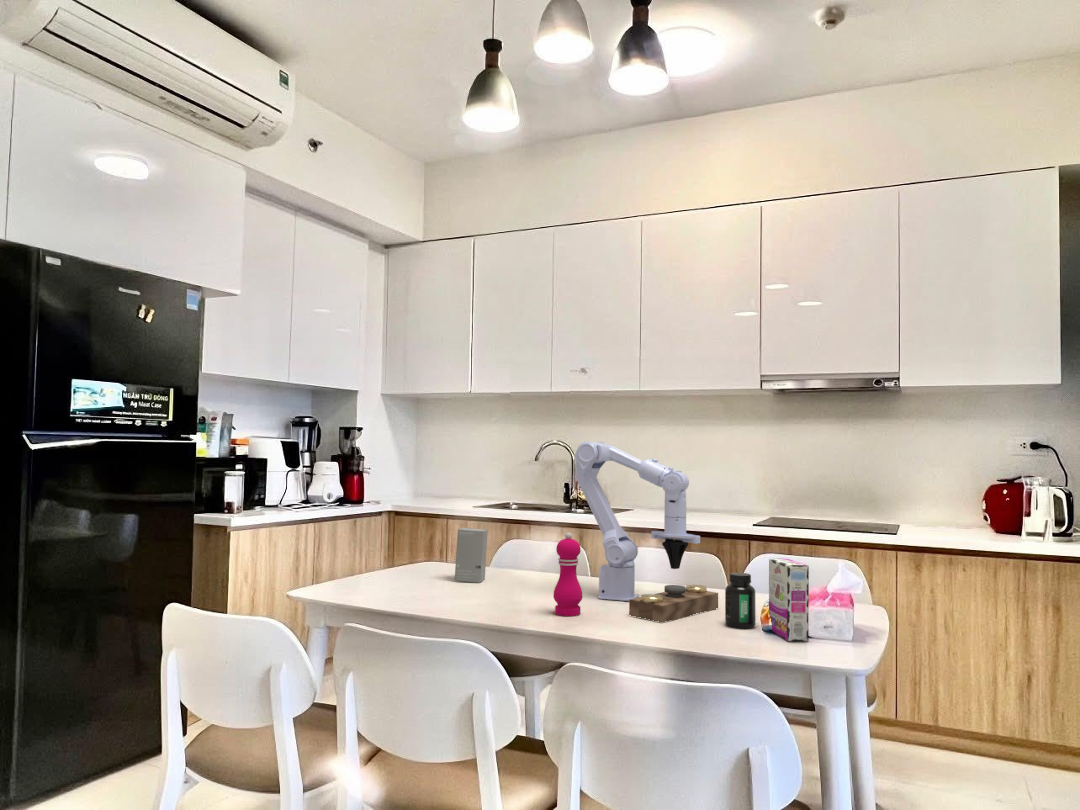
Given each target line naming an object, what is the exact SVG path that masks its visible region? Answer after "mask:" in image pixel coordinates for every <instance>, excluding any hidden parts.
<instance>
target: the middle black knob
mask: <svg viewBox="0 0 1080 810" xmlns="http://www.w3.org/2000/svg"><path fill="white" fill-rule="evenodd" d="M685 587H686V586H684V585H679V584H666V585H664V587H663V588H664V589H663V590H664V591H663V592H667V593H668V597H672V598H681V597H682V593H685Z"/></svg>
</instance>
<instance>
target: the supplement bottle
mask: <svg viewBox="0 0 1080 810" xmlns="http://www.w3.org/2000/svg"><path fill="white" fill-rule="evenodd" d="M728 580H729V582H730V583H729V584H728V585H726V587H725V589H724V591H725V592H724V593H725V594H724V599H725V600H724V605H725V607H724V610H725V611H724V616H725V617H724V620H725V622H724V623H725V625H726V626H727V627H728V628H732V629H737V630H750V629H754V628H755V627H756V617H757V616H756V589H755V587H754V586H753V585H751V583H752V575H751V574H750V573H748V572H730V573H729V579H728Z"/></svg>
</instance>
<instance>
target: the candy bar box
mask: <svg viewBox="0 0 1080 810" xmlns="http://www.w3.org/2000/svg"><path fill="white" fill-rule="evenodd" d="M768 568H769V569H768V616H769V615H770V618H771V622H772V631H771V632H772V633H774V634H775V635H776V636H778V637H779V638H782V639H783V640H785V641H786V642H789V643H790V642H791V643H794V642H795V643H797V642H799V643H800V642H801V643H802V642H803V643H804V642H809V641H810V639H809V634H810V633H809V631H810V630H809V620H810V619H809V614H810V613H809V612H810V610H809V605H810V604H809V592H810V590H809V589H810V588H809V587H810V585H809V583H810V579H809V578H810V577H809V574H810V567H809V565H807V564H804V563H801V562H798V561H796V560H793V559H790V558H781V557H780V558H769V559H768Z"/></svg>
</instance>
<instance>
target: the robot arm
mask: <svg viewBox="0 0 1080 810" xmlns="http://www.w3.org/2000/svg"><path fill="white" fill-rule="evenodd" d="M573 457H574V458H575V459H574V460H575V469H576V471H575V477H576V478H575V479H576V481H577V483H578V485H579V488H580V489H581V491H582V493H583V496H584V497H585V500H586V502H587V504H588V506H589V508H590V510H591V513H592V514H593V517H594V519H595V521H596V524H597V526H598V528H599V530H600V532H601V534H602V542H601V543H602V545H603V547H604V556H605V560H606V561H607V563H608V564H601V565H600V568H599V572H598V573H599V574H598V597H597V599H599V600H601V599H602V600H611V601H613V600H614V601H623V602H629V599H633V598H638V597H640V595H639V594H636V593H635V583H636V582H635V579H636V578H635V576H636V575H635V571H636V570H635V567H636V566H635V565H636V564H635V560H636V559H637V557H638V553H639V548H638V546H637V544H636V542H634V541H633V539H631V538H630V537H629V534H628V532H627V531H625V530H624V529H623V528H622V527H621V525H620V524H619V521H618V519H617V517H616V515H615V513H614V510H613V509H612V507H611V505H610V502H609V501H608V499H607V496H606V495H605V492H604V490H603V488H602V487H601V484H600V481H599V480H598V474H599V473H600V470H601V468H602V467H603V465H604V464H605V463H607V462H608V461H609V462H610V461H611V462H615V463H617V464H619V465H621V466H624V467H626V468H629V469H631V470H633V471H636V472H637V474H638V476H639V478H641V479H643V480H645V481H646V482H649V483H651V484H653V485H655V486H657V487H659V488H662V490H663V491H664V528H663V529H664V531H663V530H661V531H660V530H651V539H658V540H664V541H662V542H661V545H662V546H663V548H664V550H665V553H666V555H667V557H668V561H669V566H670V569H672V570H677V569H680V567H681V563H682V560H683V556H684V554H685V551H686V549H687V548H688V546H689V544H690V543H691V544H693V545H694V544H695V545H696V544H697V545H698V544H701V535H696V534H692V533H687V489H688V487H689V485H690V480H689V477H688V476H687V474H685V473H684V472H683V471H681V470H675V471H674V467H672V466H669V467H668V466H666V465H663V464H661V463H660V462H659V461H658V459H657V458H647V459H645V460H642V459H640V458H638V457H636V456H634V455H632V454H630V453H628V452H626V451H624V450H623V449H620V448H618V447H616V446H614V445H612V444H608V443H607V444H606V443H604V442H602V441H596V442H595V441H587V440H586V441H583V442H581V443H580V444H578V447H577V448H576V450H575V454H574V455H573Z"/></svg>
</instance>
